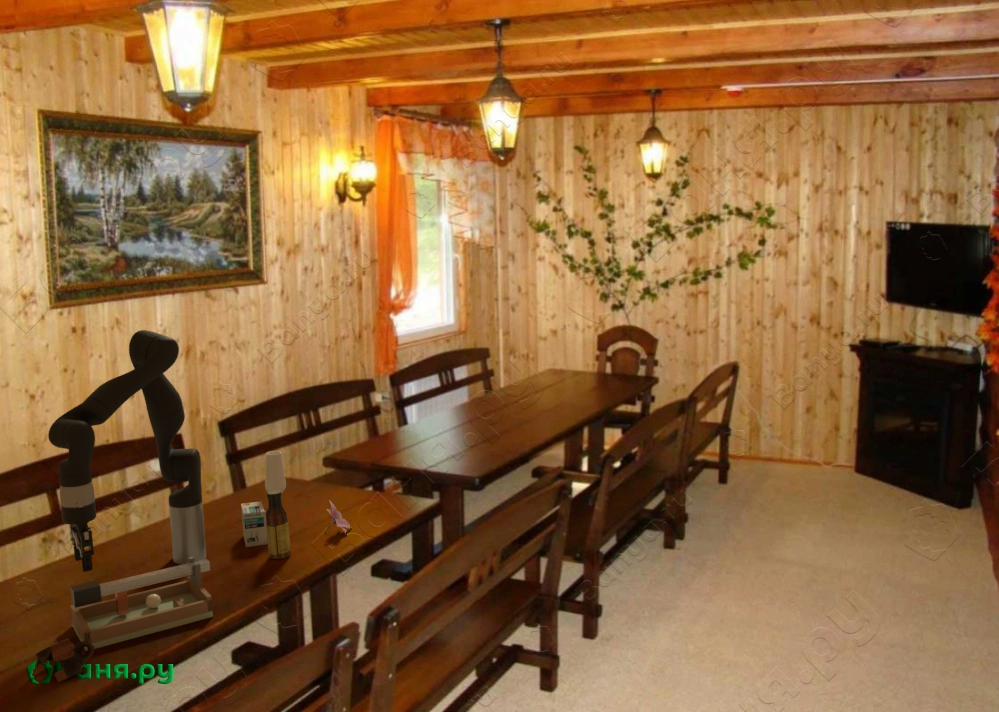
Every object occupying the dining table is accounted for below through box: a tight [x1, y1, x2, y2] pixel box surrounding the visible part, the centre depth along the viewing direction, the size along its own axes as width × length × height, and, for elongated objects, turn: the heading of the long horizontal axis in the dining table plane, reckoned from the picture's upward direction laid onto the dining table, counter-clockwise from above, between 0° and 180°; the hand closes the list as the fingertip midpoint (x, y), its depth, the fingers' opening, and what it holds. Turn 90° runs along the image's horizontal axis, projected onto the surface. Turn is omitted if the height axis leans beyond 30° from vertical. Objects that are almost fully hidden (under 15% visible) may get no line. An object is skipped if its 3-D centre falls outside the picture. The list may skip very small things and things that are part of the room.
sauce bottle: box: [266, 490, 291, 560], centre depth 270 cm, size 7×6×20 cm
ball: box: [146, 594, 161, 609], centre depth 234 cm, size 4×4×4 cm
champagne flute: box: [264, 450, 287, 494], centre depth 296 cm, size 7×7×24 cm
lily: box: [324, 499, 351, 534], centre depth 290 cm, size 12×12×10 cm
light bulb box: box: [240, 501, 268, 548], centre depth 284 cm, size 11×7×11 cm, turn 20°
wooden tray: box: [69, 556, 214, 652], centre depth 230 cm, size 16×30×12 cm, turn 125°
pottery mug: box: [35, 638, 95, 683], centre depth 207 cm, size 12×10×8 cm
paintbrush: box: [70, 558, 211, 616], centre depth 233 cm, size 4×33×9 cm, turn 125°
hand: (83, 565), depth 223 cm, fingers open, 8 cm apart
